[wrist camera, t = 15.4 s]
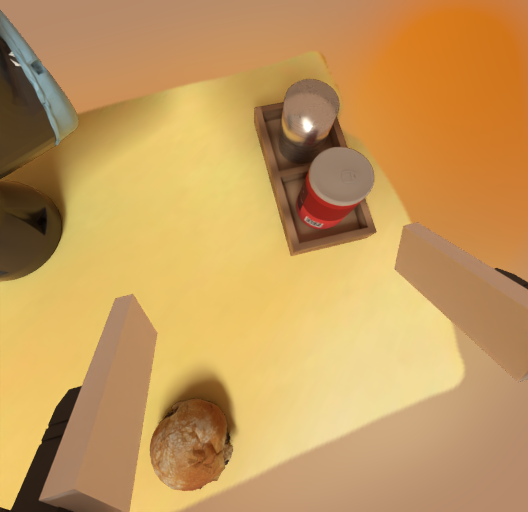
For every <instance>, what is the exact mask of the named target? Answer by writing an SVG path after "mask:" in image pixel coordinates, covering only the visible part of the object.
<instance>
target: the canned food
mask: <svg viewBox="0 0 528 512" xmlns="http://www.w3.org/2000/svg"><path fill="white" fill-rule="evenodd" d="M373 183H374V172H373V168H372V166H371V164H370V163H369V161H368V160H367V159H366V158H365V157H364V156H363V155H362V154H361V153H359V152H357V151H355V150H353V149H350V148H346V147H333V148H329V149H327V150H324V151H323V152H321V153H320V154H319V155H318V156H317V157H316V158H315V159H314V161H313V162H312V164H311V166H310V168H309V170H308V173H307V176H306V178H305V181H304V183H303V186H302V188H301V191H300V193H299V196H298V198H297V202H296V209H297V213H298V216H299V217H300V219H301V220H302V221H303V223H305V224H306V225H307V226H309V227H311V228H314V229H328V228H332V227H334V226H336V225H337V224H338V223H339V222H340V221H341V220H343V219H344V218H345V217H346V216H347V215H348V214H349V213H350V212H351V211H352V210H353V209H354V208H355V207H356V206H357V205H358V204H359V203H360V202H361V201H362V200H363V199H364V198H365V197H366V196H367V195H368V194H369V192H370V191H371V189H372V187H373Z"/></svg>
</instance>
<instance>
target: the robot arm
mask: <svg viewBox="0 0 528 512" xmlns="http://www.w3.org/2000/svg"><path fill="white" fill-rule="evenodd" d="M77 126H78V115H77V113H76V111H75V109H74V107H73V106H72V104H71V103H70V101H69V100H68V98H67V96H66V95H65V94H64V92H63V91H62V89H61V88H60V87H59V85H58V84H57V82H56V81H55V79H54V78H53V77H52V75H51V74H50V73H49V71H48V70H47V69H46V68H45V67H44V66H43V65H42V63H41V61H40V60H39V58H38V57H37V56H36V54H35V53H34V51H33V50H32V49H31V47H30V46H29V45H28V43H27V42H26V41H25V40H24V38H23V37H22V36H21V34H20V33H19V32H18V31H17V29H16V28H15V27H14V26H13V24H12V23H11V22H10V21H9V19H8V18H7V17H6V16H5V15H4V13H3V12H2V11H1V10H0V281H9V280H14V279H18V278H21V277H24V276H26V275H28V274H30V273H32V272H33V271H35V270H37V269H38V268H39V267H41V266H42V265H43V264H44V263H45V262H46V261H47V260H48V259H49V258H50V256H51V255H52V253H53V252H54V250H55V249H56V247H57V244H58V242H59V239H60V235H61V217H60V214H59V211H58V209H57V207H56V205H55V204H54V203H53V202H52V200H51V199H50V198H48V197H47V196H46V195H44V194H43V193H41V192H39V191H37V190H35V189H33V188H31V187H29V186H27V185H24V184H21V183H18V182H13V181H7V180H2V178H3V177H5V176H7V175H8V174H10V173H12V172H13V171H15V170H16V169H18V168H20V167H21V166H23V165H25V164H26V163H28V162H30V161H31V160H33V159H35V158H36V157H38V156H39V155H41V154H43V153H44V152H46V151H48V150H49V149H51V148H53V147H54V146H57V145H59V144H60V142H61V140H62V139H64V138H65V137H66V136H68V135H69V134H70V133H72V132H73V131H74V130H75V129H76V128H77ZM395 270H396V271H397V272H398V273H399V274H401V275H402V276H403V277H404V278H405V279H406V280H407V281H408V282H409V283H410V284H411V285H413V286H414V287H415V288H416V289H417V290H418V291H419V292H420V293H421V294H422V295H423V296H425V297H426V298H427V299H428V300H429V301H430V302H431V303H432V304H433V305H434V306H435V307H437V308H438V309H439V310H440V311H441V312H442V313H443V314H444V315H445V316H446V317H447V318H449V319H450V320H451V321H452V322H453V323H454V324H455V325H456V326H457V327H458V328H459V329H461V330H462V331H463V332H464V333H465V334H466V335H467V336H468V337H469V338H470V339H471V340H473V341H474V342H475V343H476V344H477V345H478V346H479V347H480V348H481V349H482V350H483V351H485V352H486V353H487V354H488V355H489V356H490V357H491V358H492V359H493V360H494V361H496V362H497V363H498V364H499V365H500V366H501V367H502V368H503V369H505V371H506V372H507V373H509V374H510V375H511V376H512V377H513V378H514V379H515V380H516V381H517V382H521V381H524V380H527V379H528V282H526V281H525V280H522V279H521V278H519V277H517V276H516V275H514V274H512V273H509V272H506V271H504V270H501V269H498V268H495V269H493V268H491V267H490V266H488V265H486V264H485V263H483V262H482V261H480V260H478V259H477V258H475V257H473V256H472V255H470V254H469V253H467V252H465V251H464V250H462V249H460V248H459V247H457V246H455V245H454V244H452V243H451V242H449V241H447V240H446V239H444V238H442V237H441V236H439V235H437V234H436V233H434V232H432V231H431V230H429V229H427V228H426V227H424V226H422V225H421V224H419V223H418V222H417V223H413V224H409V225H405V226H403V230H402V235H401V240H400V245H399V249H398V254H397V259H396V264H395ZM156 338H157V332H156V330H155V329H154V327H153V325H152V324H151V322H150V321H149V319H148V317H147V316H146V314H145V312H144V311H143V309H142V308H141V306H140V304H139V303H138V301H137V300H136V298H135V296H134V295H133V294H131V295H127V296H123V297H120V298H116V299H115V301H114V303H113V306H112V309H111V311H110V314H109V316H108V319H107V322H106V324H105V327H104V330H103V332H102V335H101V338H100V340H99V343H98V345H97V348H96V351H95V353H94V356H93V359H92V361H91V364H90V366H89V369H88V372H87V374H86V377H85V380H84V382H83V385H82V386H80V387H76V388H73V389H69V391H68V392H67V393H66V394H65V396H64V397H63V398H62V400H61V401H60V402H59V404H58V405H57V406H56V408H55V411H54V413H53V415H52V418H51V420H50V422H49V424H48V426H49V427H48V429H46V431H45V434H44V436H43V438H42V440H41V441H42V444H41V445H39V447H38V450H37V452H36V454H35V457H34V459H33V461H32V463H31V466H30V468H29V470H28V473H27V475H26V477H25V479H24V482H23V484H22V486H21V489H20V491H19V493H18V495H17V498H16V500H15V502H14V505H13V507H12V509H11V510H7V509H4V508H1V507H0V512H129V511H130V504H131V498H132V491H133V485H134V479H135V472H136V466H137V460H138V453H139V447H140V440H141V434H142V428H143V421H144V415H145V408H146V402H147V396H148V389H149V383H150V376H151V370H152V364H153V357H154V351H155V344H156Z"/></svg>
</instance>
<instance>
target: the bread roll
mask: <svg viewBox="0 0 528 512" xmlns="http://www.w3.org/2000/svg"><path fill="white" fill-rule="evenodd" d="M172 409H173V411H171V412H170V413H169V414H168V415H167V416H166V417H165V419H163V420H162V421H161V422H160V423H159V425H158V426H157V428H156V430H155V431H154V433H153V436H152V439H151V444H150V456H151V462H152V465H153V468H154V471H155V473H156V475H157V476H158V477H159V479H160V480H161V481H162V482H163V483H164V484H166V485H167V486H169V487H170V488H172V489H175V490H182V491H191V490H196V489H201V488H202V487H203V486H204V485H206V484H207V483H209V482H211V481H217V480H218V478H219V476H220V474H221V472H222V471H223V470H224V469H225V465H227V463H228V462H229V460H230V458H231V455H232V452H233V446H232V445H229V446H228V444H227V443H228V442H229V440H230V436H229V433H228V432H227V426H228V424H227V421H226V419H225V414H223V412H222V411H221V409H220V408H219V407H218V406H217V405H216V404H213V403H211V402H209V401H203V400H200V399H191V400H187V401H184V402H183V401H180V402H178V403H176V404H174V406H173V407H172ZM220 451H221V452H220Z"/></svg>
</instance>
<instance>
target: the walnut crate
mask: <svg viewBox="0 0 528 512" xmlns="http://www.w3.org/2000/svg"><path fill="white" fill-rule="evenodd" d="M283 106H284V102H283V103H278V104H272V105H267V106H261V107H256V108H254V123H255V127H256V131H257V134H258V138H259V142H260V145H261V149H262V152H263V156H264V160H265V163H266V167H267V171H268V174H269V178H270V182H271V185H272V189H273V193H274V196H275V200H276V203H277V207H278V211H279V214H280V218H281V222H282V225H283V229H284V233H285V236H286V240H287V243H288V247H289V251H290V254H291V256H294V255H298V254H302V253H306V252H310V251H315V250H319V249H323V248H327V247H331V246H335V245H340V244H344V243H348V242H352V241H356V240H360V239H365V238H367V237H369V236H371V235H372V234H374V233H376V229H375V226H374V223H373V220H372V217H371V214H370V212H369V209H368V206H367V203H366V200H365V198H364V199H363V200H362V201H361V202H360V203H359V204H358V205H357V206H356V207H355V208H354V209H353V210H352V211H351V212H350V213H349V214H348V215H347V216H346V217H345V218H344V219H343V220H341V221H340V222H339V223H338V224H337V225H336V226H334V227H332V228H328V229H314V228H311V227H309V226H307V225H306V224H305V223H303V221H302V220H301V219H300V217H299V216H298V213H297V209H296V202H297V198H298V196H299V193H300V191H301V188H302V186H303V183H304V181H305V178H306V176H307V173H308V170H309V168H310V166H311V164H312V162H313V161H314V160H313V161H312V162H309V163H306V164H297V163H293V162H291V161H289V160H287V159H286V158H285V157H284V156H283V155H282V154H281V152H280V150H279V147H278V139H279V133H280V126H281V119H282V113H283ZM333 147H346V148H347V145H346V142H345V139H344V136H343V133H342V130H341V128H340V125H339V122H338V119H337V116H336V118H335V120H334V122H333V125H332V127H331V129H330V132H329V134H328V136H327V138H326V141H325V143H324V145H323V147H322V150H321V152H323V151H324V150H327V149H329V148H333ZM321 152H320V153H321Z"/></svg>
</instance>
